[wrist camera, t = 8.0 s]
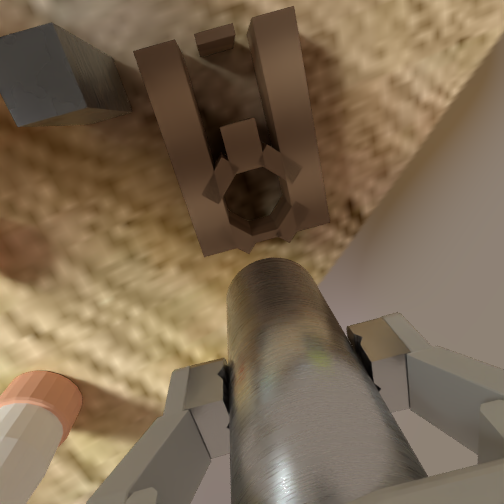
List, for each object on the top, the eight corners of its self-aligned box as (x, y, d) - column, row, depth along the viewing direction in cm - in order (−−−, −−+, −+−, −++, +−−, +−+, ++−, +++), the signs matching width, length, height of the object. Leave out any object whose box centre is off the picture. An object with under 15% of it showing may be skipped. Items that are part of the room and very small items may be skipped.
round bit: (215, 271, 12) (199, 589, 4) (308, 247, 12) (495, 517, 4) (239, 346, 14) (266, 703, 5) (323, 325, 13) (485, 649, 5)
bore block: (146, 62, 23) (133, 51, 19) (281, 24, 23) (293, 5, 19) (208, 246, 29) (207, 265, 25) (317, 217, 29) (331, 231, 25)
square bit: (64, 72, 23) (-25, 44, 15) (112, 58, 23) (51, 22, 15) (86, 124, 24) (17, 127, 16) (132, 112, 24) (87, 107, 16)
